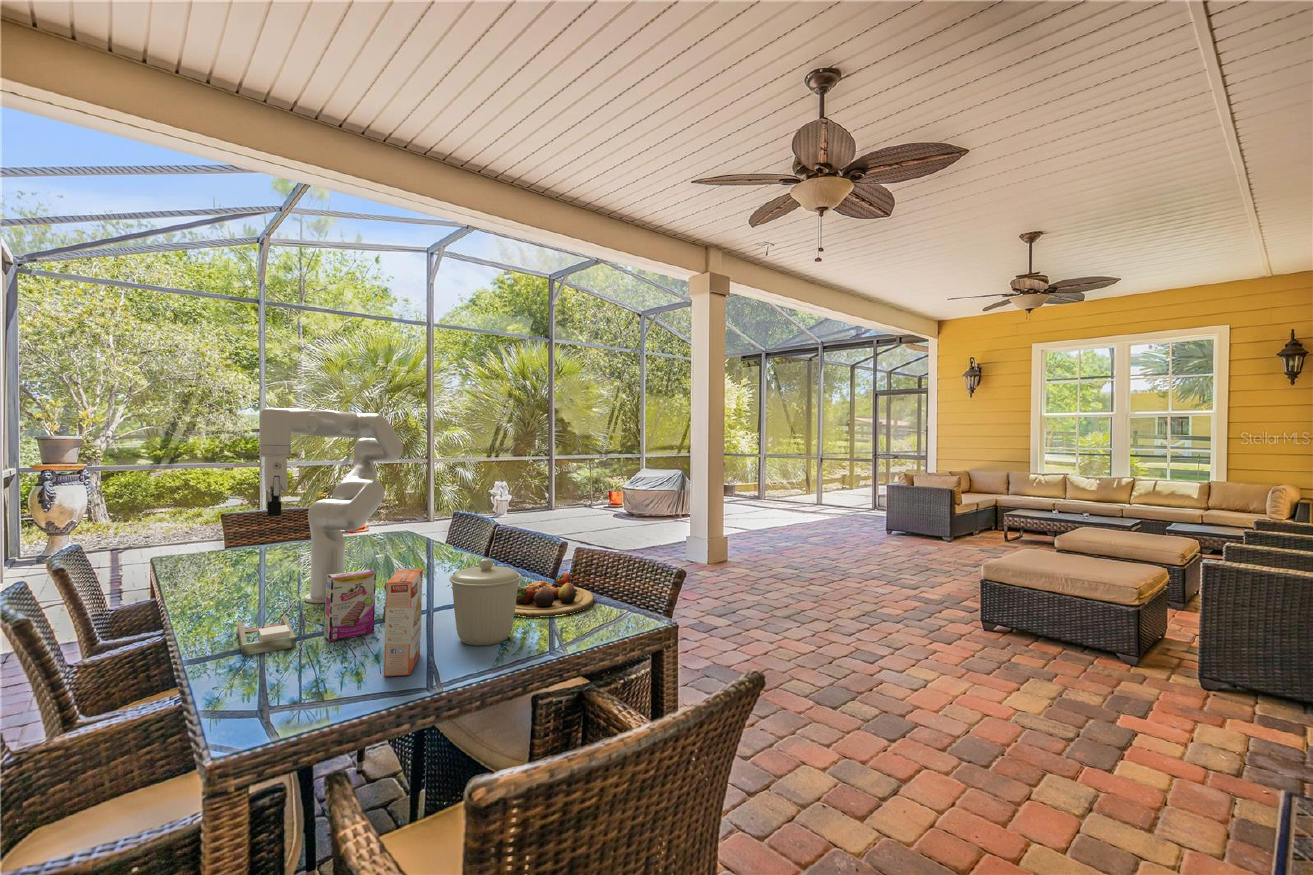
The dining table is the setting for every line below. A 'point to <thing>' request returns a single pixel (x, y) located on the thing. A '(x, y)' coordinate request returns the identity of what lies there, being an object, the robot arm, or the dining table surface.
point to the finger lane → (266, 644)
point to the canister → (484, 602)
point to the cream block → (274, 632)
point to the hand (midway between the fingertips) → (274, 515)
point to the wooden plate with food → (551, 598)
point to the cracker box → (402, 622)
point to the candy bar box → (349, 604)
